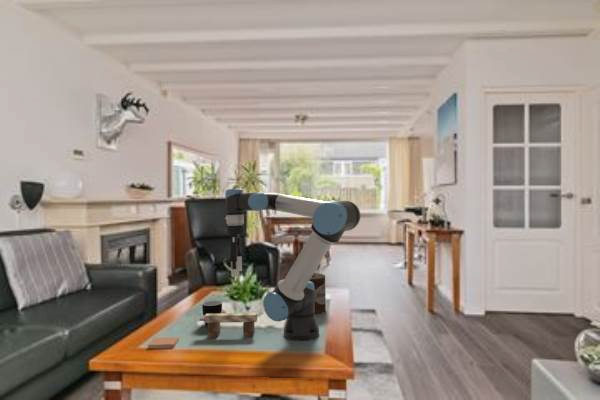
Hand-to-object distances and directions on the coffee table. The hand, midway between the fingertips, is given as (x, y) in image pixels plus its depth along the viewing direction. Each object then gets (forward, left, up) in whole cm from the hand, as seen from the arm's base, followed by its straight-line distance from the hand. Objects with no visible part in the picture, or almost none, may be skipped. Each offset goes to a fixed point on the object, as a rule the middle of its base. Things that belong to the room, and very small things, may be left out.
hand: (237, 273), depth 174 cm
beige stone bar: (+3, +1, -20) cm, 20 cm away
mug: (+14, -15, -26) cm, 33 cm away
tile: (+23, +11, -26) cm, 36 cm away
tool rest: (+2, +1, -26) cm, 26 cm away
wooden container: (-33, -34, -26) cm, 54 cm away
